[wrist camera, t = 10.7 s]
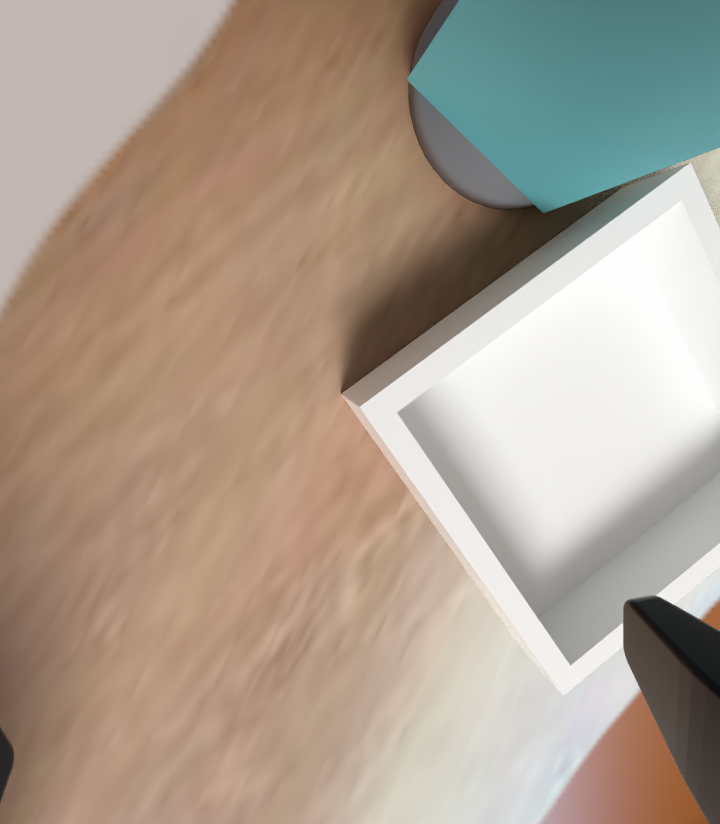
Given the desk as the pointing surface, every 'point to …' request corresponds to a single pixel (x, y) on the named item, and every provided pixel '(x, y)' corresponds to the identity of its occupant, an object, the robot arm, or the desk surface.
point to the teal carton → (578, 88)
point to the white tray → (573, 423)
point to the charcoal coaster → (457, 141)
